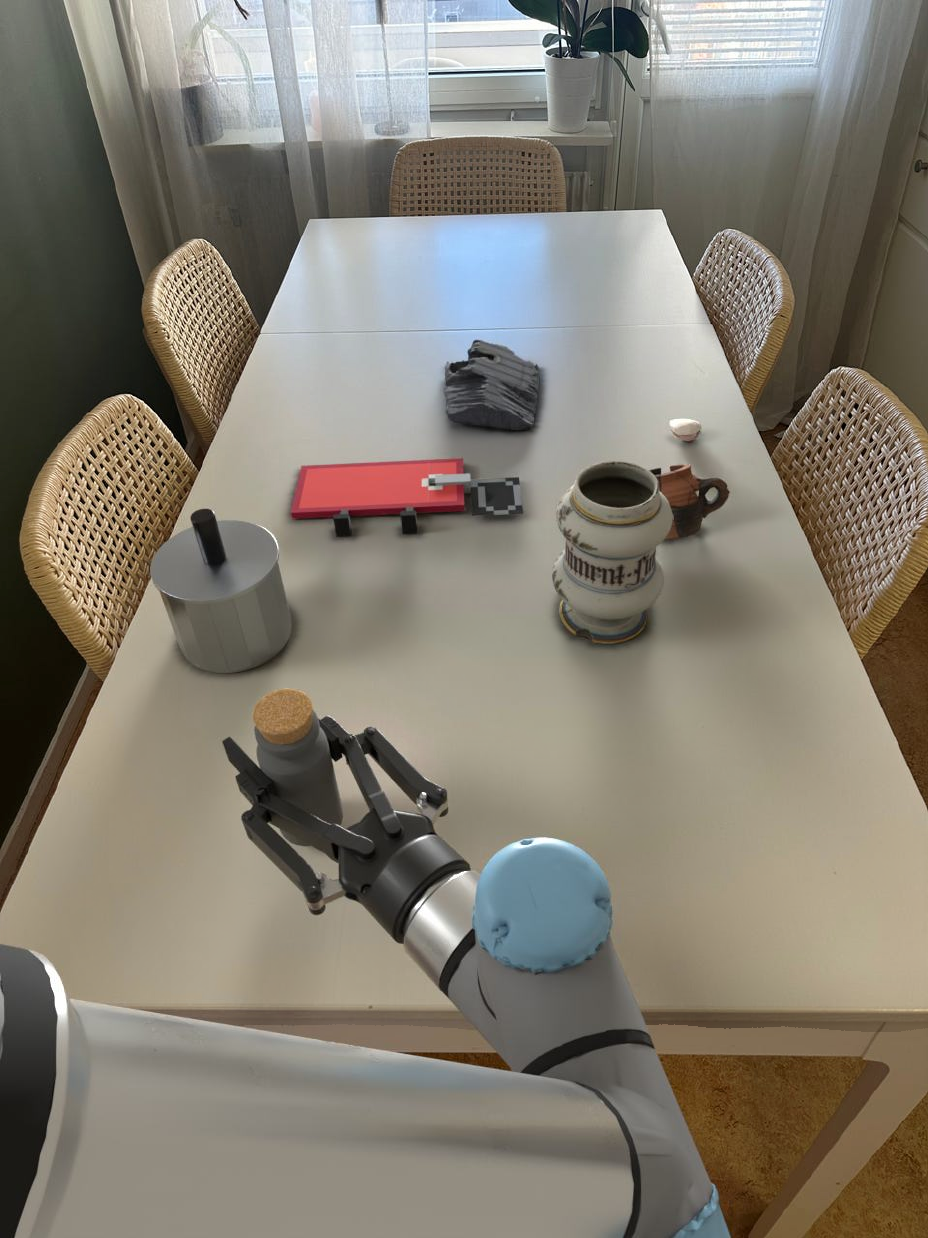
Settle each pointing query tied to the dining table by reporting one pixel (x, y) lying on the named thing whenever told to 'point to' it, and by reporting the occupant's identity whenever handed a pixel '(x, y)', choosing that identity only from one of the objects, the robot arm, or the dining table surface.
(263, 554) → the pot lid
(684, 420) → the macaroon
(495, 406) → the dark slate chunk
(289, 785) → the bottle
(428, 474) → the red board with handle
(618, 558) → the apothecary jar
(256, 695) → the dining table surface
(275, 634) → the pot
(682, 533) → the pottery mug
